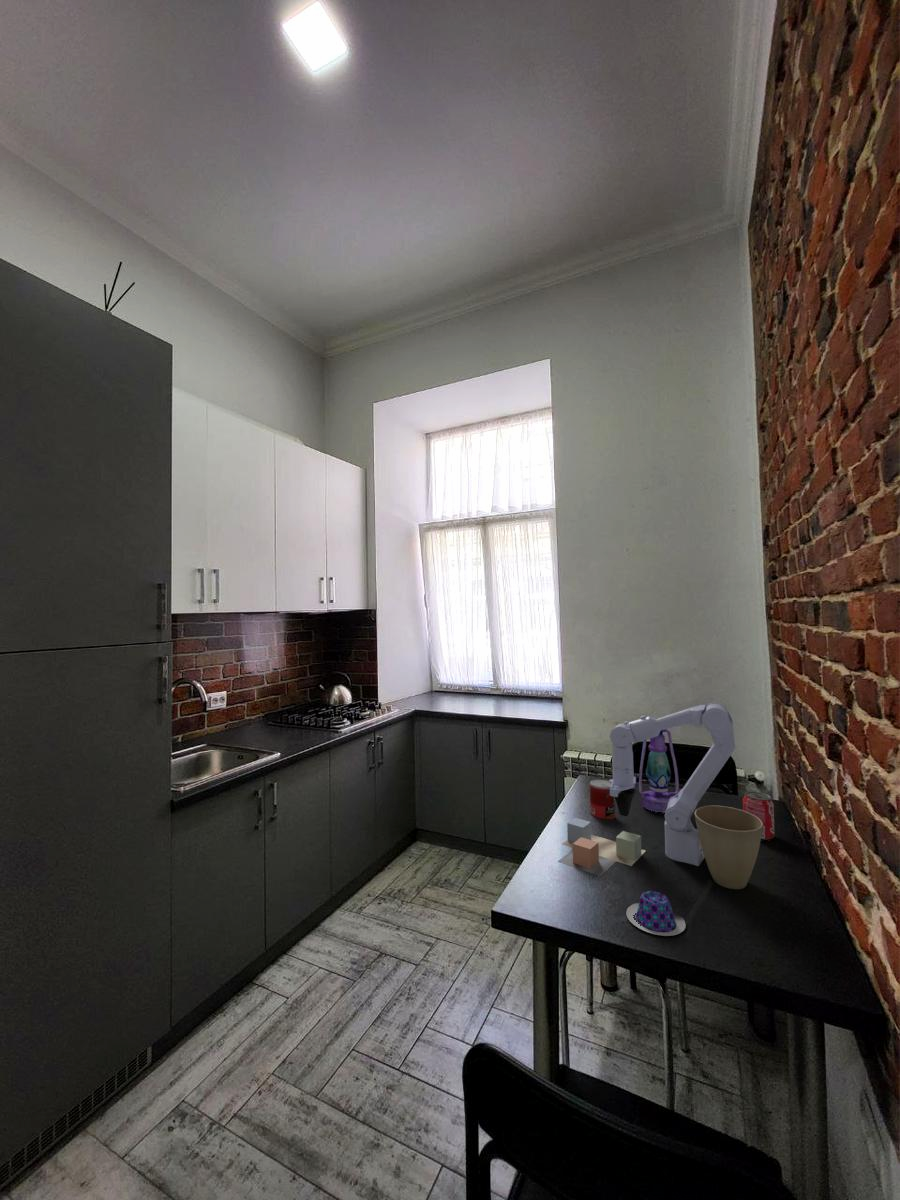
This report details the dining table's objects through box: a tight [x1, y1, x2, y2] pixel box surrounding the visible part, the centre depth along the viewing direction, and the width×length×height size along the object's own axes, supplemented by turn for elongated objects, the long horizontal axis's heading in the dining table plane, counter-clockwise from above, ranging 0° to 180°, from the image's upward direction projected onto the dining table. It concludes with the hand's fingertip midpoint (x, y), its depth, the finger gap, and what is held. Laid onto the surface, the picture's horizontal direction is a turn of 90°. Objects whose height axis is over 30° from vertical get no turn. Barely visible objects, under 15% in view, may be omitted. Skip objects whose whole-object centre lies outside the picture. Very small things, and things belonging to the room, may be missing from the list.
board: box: [557, 834, 647, 877], centre depth 137 cm, size 20×21×1 cm
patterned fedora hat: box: [625, 890, 687, 937], centre depth 109 cm, size 12×12×5 cm
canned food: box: [589, 779, 616, 821], centre depth 165 cm, size 8×8×11 cm
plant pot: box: [694, 805, 763, 890], centre depth 124 cm, size 15×15×16 cm
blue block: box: [566, 817, 592, 842], centre depth 146 cm, size 5×5×5 cm
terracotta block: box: [572, 837, 599, 869], centre depth 133 cm, size 5×5×5 cm
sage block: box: [615, 830, 642, 862], centre depth 136 cm, size 5×5×5 cm
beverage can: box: [742, 791, 776, 840], centre depth 150 cm, size 8×8×12 cm
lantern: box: [638, 729, 680, 814], centre depth 172 cm, size 13×12×30 cm
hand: (624, 814), depth 143 cm, fingers closed
